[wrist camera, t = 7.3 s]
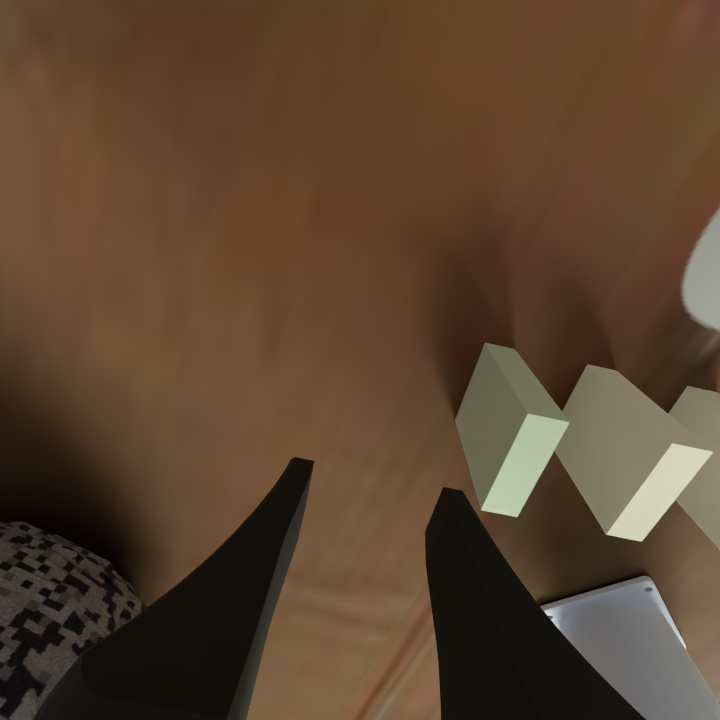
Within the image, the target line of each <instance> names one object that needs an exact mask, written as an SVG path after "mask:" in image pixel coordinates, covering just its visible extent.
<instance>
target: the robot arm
mask: <svg viewBox="0 0 720 720" xmlns="http://www.w3.org/2000/svg"><path fill="white" fill-rule="evenodd" d="M313 465H314V461H312V460H307V459H302V458H297V457H295V458H293V459H291V460H290V462H289V464H288V466H287V468H286V469H285V471H284V472H283V474H282V475H281V477H280V478H279V480H278V481H277V483H276V484H275V485H274V487H273V488H272V489H271V491H270V492H269V493H268V494H267V496H266V497H265V498H264V499H263V501H262V502H261V503H260V504H259V506H258V507H257V508H256V509H255V510H254V512H253V513H252V514H251V515H250V516H249V517H248V518H247V519H246V520H245V521H244V523H243V524H242V525H241V526H240V527H239V528H238V529H237V530H236V531H235V532H234V533H233V534H232V535H231V536H230V537H229V538H228V539H227V540H226V541H225V542H224V543H223V544H222V545H221V546H220V547H219V548H218V549H217V550H216V551H215V552H214V553H213V554H212V555H211V556H210V557H209V558H208V559H206V560H205V561H204V562H203V563H202V564H201V565H200V566H198V567H197V568H196V569H195V570H194V571H193V572H192V573H190V574H189V575H188V576H187V577H186V578H185V579H183V580H182V581H181V582H180V583H178V584H177V585H176V586H175V587H174V588H172V589H171V590H170V591H168V592H167V593H166V594H164V595H163V596H162V597H160V598H159V599H158V600H157V601H155V602H154V603H153V604H151V605H150V606H149V607H147V608H146V609H145V610H144V611H142V612H141V613H139V614H138V615H137V616H135V617H134V618H133V619H131V620H130V621H128V622H127V623H125V624H124V625H122V626H121V627H119V628H118V629H116V630H115V631H114V632H112V633H111V634H109V635H108V636H106V637H105V638H103V639H102V640H100V641H99V642H97V643H96V644H94V645H93V646H91V647H90V648H88V649H87V650H86V651H84V652H83V653H82V654H81V655H80V656H79V657H78V659H77V660H76V661H75V662H74V663H73V664H72V666H71V667H70V668H69V669H68V670H67V672H66V673H65V674H64V675H63V677H62V678H61V679H60V681H59V682H58V683H57V684H56V686H55V687H54V688H53V690H52V691H51V692H50V693H49V695H48V696H47V698H46V699H45V700H44V702H43V703H42V705H41V707H40V708H39V710H38V711H37V713H36V714H35V716H34V718H33V719H32V720H246V718H247V714H248V710H249V705H250V701H251V697H252V693H253V689H254V685H255V681H256V677H257V673H258V669H259V665H260V661H261V657H262V653H263V649H264V645H265V641H266V637H267V633H268V629H269V626H270V623H271V619H272V616H273V613H274V610H275V607H276V604H277V601H278V598H279V595H280V592H281V589H282V586H283V583H284V580H285V577H286V574H287V571H288V568H289V565H290V561H291V558H292V555H293V552H294V549H295V546H296V543H297V540H298V536H299V532H300V528H301V523H302V519H303V515H304V511H305V506H306V501H307V496H308V491H309V485H310V480H311V475H312V470H313ZM425 547H426V569H427V576H428V584H429V592H430V599H431V606H432V613H433V621H434V628H435V635H436V642H437V651H438V661H439V679H440V698H441V720H720V703H719V701H718V700H717V698H716V697H715V695H714V693H713V692H712V690H711V689H710V687H709V686H708V684H707V682H706V681H705V679H704V678H703V676H702V675H701V673H700V671H699V670H698V668H697V667H696V665H695V663H694V662H693V660H692V659H691V657H690V656H689V654H688V652H687V651H686V645H685V643H684V641H683V639H682V637H681V636H680V634H679V632H678V630H677V628H676V626H675V624H674V622H673V620H672V618H671V616H670V614H669V612H668V610H667V608H666V606H665V604H664V602H663V600H662V598H661V596H660V594H659V592H658V590H657V588H656V586H655V584H654V583H653V581H652V579H651V578H650V577H648V576H640V577H637V578H634V579H630V580H627V581H623V582H620V583H617V584H613V585H610V586H606V587H603V588H600V589H596V590H593V591H589V592H586V593H583V594H579V595H576V596H573V597H569V598H566V599H562V600H559V601H556V602H552V603H549V604H545V605H542V606H539V605H538V603H537V602H536V601H535V600H534V598H533V597H532V596H531V594H530V593H529V592H528V591H527V589H526V588H525V586H524V585H523V584H522V582H521V581H520V580H519V578H518V577H517V575H516V574H515V573H514V571H513V570H512V569H511V567H510V566H509V564H508V563H507V561H506V560H505V558H504V557H503V555H502V554H501V552H500V551H499V549H498V548H497V546H496V545H495V543H494V542H493V540H492V538H491V537H490V535H489V534H488V532H487V530H486V529H485V527H484V526H483V524H482V522H481V521H480V519H479V517H478V516H477V514H476V513H475V511H474V509H473V508H472V506H471V504H470V503H469V501H468V499H467V498H466V496H465V494H464V493H463V491H461V490H456V489H451V488H446V487H443V489H442V492H441V494H440V497H439V499H438V502H437V504H436V506H435V509H434V511H433V514H432V516H431V519H430V521H429V523H428V526H427V528H426V531H425Z"/></svg>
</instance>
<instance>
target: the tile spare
mask: <svg viewBox="0 0 720 720" xmlns="http://www.w3.org/2000/svg"><path fill="white" fill-rule="evenodd" d="M455 423H456V426H457V430H458V433H459V437H460V440H461V443H462V447H463V450H464V454H465V457H466V461H467V464H468V468H469V471H470V475H471V478H472V482H473V485H474V489H475V492H476V496H477V499H478V502H479V506H480V509H481V510H483V511H488V512H493V513H498V514H503V515H508V516H513V517H518V515H519V513H520V511H521V510H522V508H523V506H524V504H525V502H526V501H527V499H528V497H529V495H530V493H531V492H532V490H533V488H534V486H535V484H536V483H537V481H538V479H539V477H540V475H541V474H542V472H543V470H544V468H545V466H546V465H547V463H548V461H549V459H550V457H551V456H552V454H553V452H554V450H555V448H556V447H557V445H558V443H559V441H560V439H561V438H562V436H563V434H564V432H565V430H566V429H567V427H568V425H569V423H570V422H569V420H568V419H567V418H566V416H565V415H564V414H563V412H562V411H561V410H560V408H559V407H558V406H557V404H556V403H555V402H554V400H553V399H552V398H551V396H550V395H549V394H548V393H547V391H546V390H545V389H544V387H543V386H542V385H541V383H540V382H539V381H538V379H537V378H536V377H535V375H534V374H533V373H532V371H531V370H530V369H529V367H528V366H527V365H526V363H525V362H524V361H523V359H522V358H521V357H520V355H519V354H518V353H517V351H516V350H515V349H512V348H508V347H503V346H498V345H494V344H489V343H485V344H484V346H483V349H482V351H481V354H480V357H479V359H478V362H477V364H476V367H475V370H474V372H473V375H472V377H471V380H470V382H469V385H468V388H467V390H466V393H465V395H464V398H463V401H462V403H461V406H460V408H459V411H458V414H457V416H456V419H455Z"/></svg>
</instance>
